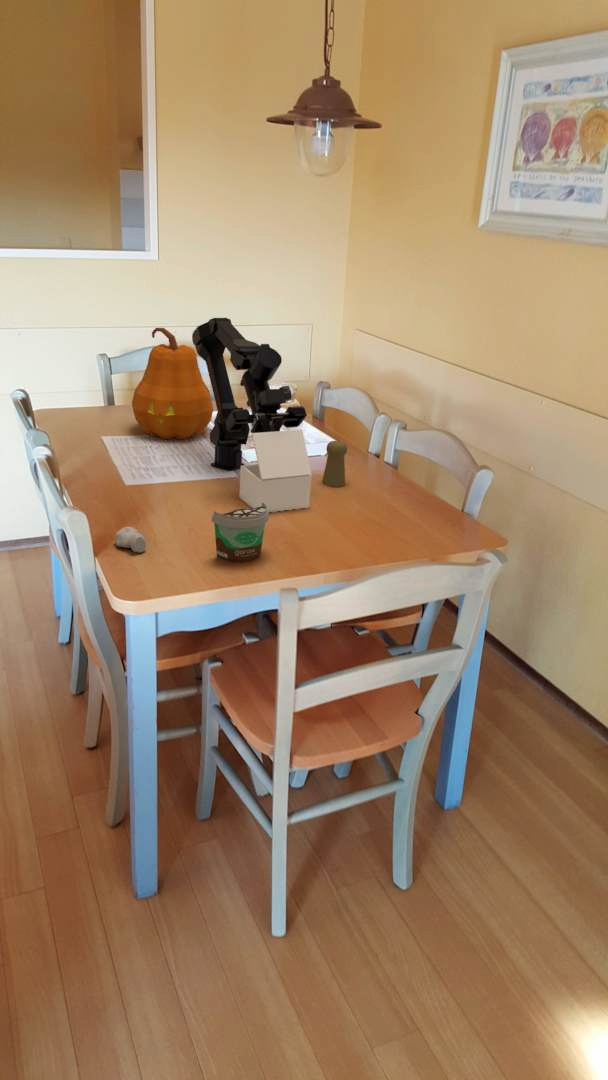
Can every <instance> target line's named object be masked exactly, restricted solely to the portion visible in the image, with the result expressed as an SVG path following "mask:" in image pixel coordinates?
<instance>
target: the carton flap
mask: <svg viewBox="0 0 608 1080" xmlns="http://www.w3.org/2000/svg"><path fill="white" fill-rule="evenodd" d="M251 437H252V442H253V446H254V451H255V455H256V461H257V464H258V466H259V471H260V476H261V480H263V479H273V478H283V477H293V476H303V475H311V476H312V469H311V464H310V460H309V456H308V451H307V446H306V442H305V437H304V432H303V429H293V430H291V429H290V430H280V431H275V432H261V433H251Z"/></svg>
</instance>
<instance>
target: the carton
mask: <svg viewBox="0 0 608 1080" xmlns="http://www.w3.org/2000/svg"><path fill="white" fill-rule="evenodd" d="M239 473H240V475H239V476H240V477H239V497H238V498H239V499H240V500H241V501H242V502H243V503H245V504H246V505H247V506H249V508H250V509H252V508H257V507H262V502H263V503H264V504H265V505H266V506H267V509H268V513H269V512H272V513H278V512H277V511H280V512H285V511H284V510H289V511H293V510H292V509H297V510H300V509H299V508H305V509H307V508H306V507H309V508H310V500H311V490H312V489H311V488H312V486H311V485H312V474H311V475H303V476H293V477H283V478H273V479H263V480H261V476H260V471H259V466H258V463H257V464H244V466H241V467H240V471H239ZM269 514H270V513H269Z"/></svg>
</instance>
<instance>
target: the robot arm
mask: <svg viewBox="0 0 608 1080" xmlns="http://www.w3.org/2000/svg"><path fill="white" fill-rule="evenodd" d="M191 337H192V338H191V339H192V344H193V345H194V347H195V351H196V353H197V355H198V356H199V357H200V358H201V359H202V360H203V361H204V362H205V364H206V369H207V373H208V377H209V380H210V384H211V389H212V393H213V397H214V401H215V405H216V409H217V413H216V416H215V418H214V420H213V425H214V426H213V427H212V429H211V430H210V432H209V442H210V443H211V444H212V445H214V462H211V463H210V466H211V467H215V468H219V469H222V470H225V471H233V470H236V469H238V468H241V466H244V465H245V463H243V461H242V460H243V450H242V445H247V443H248V439H249V434H250V433H251V434H252V433H261V432H275V431H281V428H282V427H283V426H284V427H285V428H287V429H288V428H298V427H299V426H300V425H301V424H302V423H303V421H304V420H305V419H306V418H307V416H308V413H307V410H306V408H305V407H304V406H302V405H297V406H295V405H294V406H288V407H287V409H286V410H285V411H284V412H278V411H280V410H281V408H282V404H286V403H287V402H288V401H289V400H291V399H292V397H293V395H292V391H291V388H290V385H282V386H281V387H279V388H270V384H269V381H271V380H272V379H273V377H274V376H275V374H276V373H277V371H278V369H279V368H280V366H281V365H282V361H283V359H282V356H281V354H279V352H278V351H277V350H275V349H274V348H272V347H271V346H270V344H269V343H261V344H258V343H257V342H255V341H251V340H247V339H246V338H245V337H244V336H243V335H242V334H241V333H240V331H239V330H237V328H236V327H235V326H234V325H233V324H232V320H231V319H230V318H227V317H212V318H210V319H209V320H208V321H207V322H205V323H202V324H200V325H198V326H196V328H195V329H194V330H193V332H192V335H191ZM226 349H227V350H228V352H229V354H230V358H229V360H230V363H231V365H232V366H233V368H234V369H235V370H236V371H244V372H243V375H242V376H241V380H240V386H241V387H243V388H244V390H245V394H246V397H247V401H246V406H247V407H250V410H251V414H250V411H249V410H248V409H247V408H243V407H238V406H237V405H236V402H235V397H234V394H233V390H232V386H231V385H232V384H231V382H230V378H229V373H228V370H227V369H228V368H227V366H226V363H225V358H224V353H225V351H226ZM286 401H287V402H286ZM249 424H251V427H252V428H251V429H250V425H249Z"/></svg>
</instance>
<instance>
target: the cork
mask: <svg viewBox="0 0 608 1080" xmlns="http://www.w3.org/2000/svg"><path fill="white" fill-rule="evenodd" d="M347 451H348V445H347V444H346V443H345V442H343V441H340V440H332V441H329V442H328V443H327V445H326V452H327V459H326V462H325V463H326V464H325V466H324V467H325V468H324V471H323V476H322V480H321V483H323V484H324V486H325V485H327V486H326V487H328V486H330V487H329V488H343V487H345V486H346V469H345V455H346V454H347ZM323 484H322V485H323Z"/></svg>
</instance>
